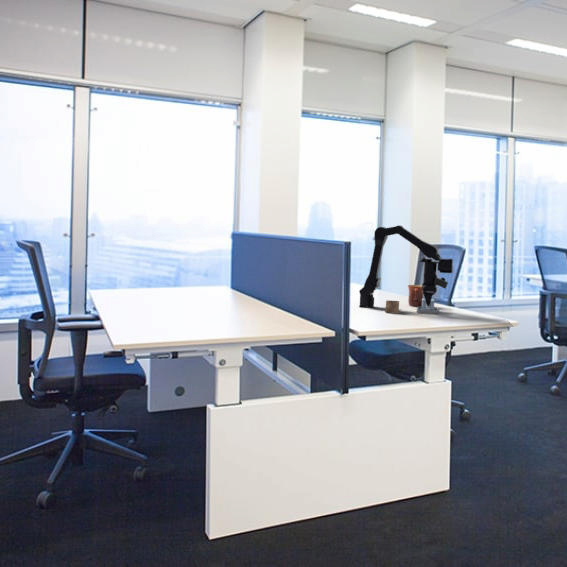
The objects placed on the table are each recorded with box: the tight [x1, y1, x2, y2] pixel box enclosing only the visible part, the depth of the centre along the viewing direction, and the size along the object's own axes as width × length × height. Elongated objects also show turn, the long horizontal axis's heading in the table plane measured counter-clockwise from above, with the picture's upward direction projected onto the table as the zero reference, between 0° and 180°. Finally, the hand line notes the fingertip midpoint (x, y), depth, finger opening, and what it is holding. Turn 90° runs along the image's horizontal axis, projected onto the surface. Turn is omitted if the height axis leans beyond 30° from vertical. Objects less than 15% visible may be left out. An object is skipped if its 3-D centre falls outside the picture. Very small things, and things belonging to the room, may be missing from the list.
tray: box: [416, 306, 440, 315], centre depth 283 cm, size 10×10×2 cm
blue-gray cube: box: [421, 297, 436, 311], centre depth 283 cm, size 6×6×6 cm
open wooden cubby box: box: [385, 299, 400, 314], centre depth 279 cm, size 6×6×5 cm
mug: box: [407, 284, 424, 308], centre depth 300 cm, size 12×9×10 cm
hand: (428, 304), depth 283 cm, fingers open, 8 cm apart
